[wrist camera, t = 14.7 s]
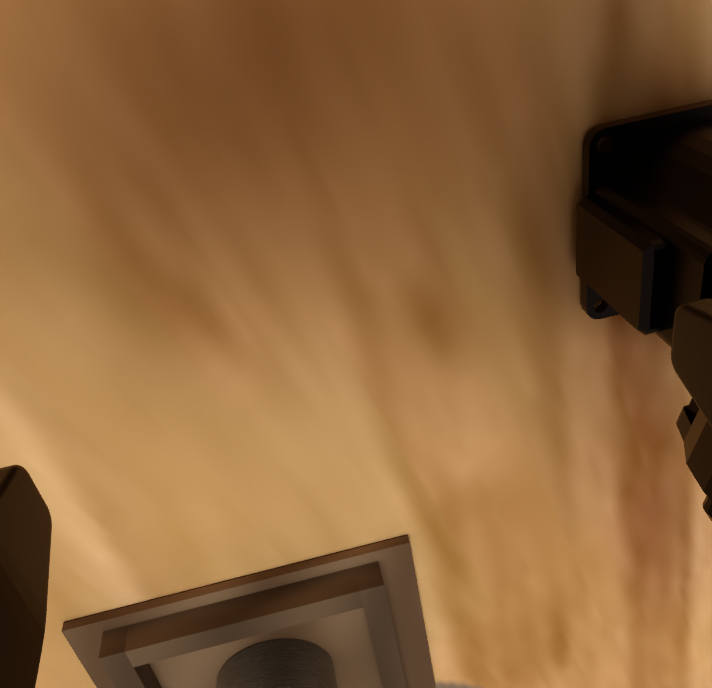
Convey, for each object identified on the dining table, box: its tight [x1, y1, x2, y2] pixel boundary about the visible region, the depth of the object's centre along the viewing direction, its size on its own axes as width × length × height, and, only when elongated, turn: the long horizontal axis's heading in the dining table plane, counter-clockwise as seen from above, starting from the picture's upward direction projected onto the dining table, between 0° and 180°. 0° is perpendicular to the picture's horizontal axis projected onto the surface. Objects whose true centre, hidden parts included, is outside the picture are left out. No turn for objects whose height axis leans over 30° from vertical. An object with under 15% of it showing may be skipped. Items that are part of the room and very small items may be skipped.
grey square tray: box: [62, 535, 435, 688], centre depth 30 cm, size 14×12×2 cm
